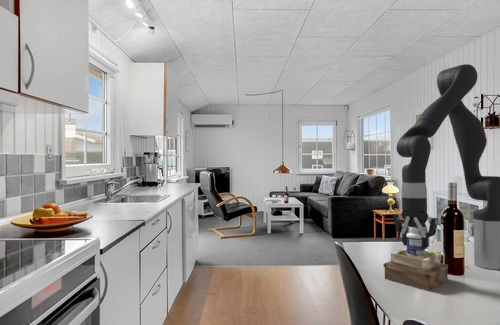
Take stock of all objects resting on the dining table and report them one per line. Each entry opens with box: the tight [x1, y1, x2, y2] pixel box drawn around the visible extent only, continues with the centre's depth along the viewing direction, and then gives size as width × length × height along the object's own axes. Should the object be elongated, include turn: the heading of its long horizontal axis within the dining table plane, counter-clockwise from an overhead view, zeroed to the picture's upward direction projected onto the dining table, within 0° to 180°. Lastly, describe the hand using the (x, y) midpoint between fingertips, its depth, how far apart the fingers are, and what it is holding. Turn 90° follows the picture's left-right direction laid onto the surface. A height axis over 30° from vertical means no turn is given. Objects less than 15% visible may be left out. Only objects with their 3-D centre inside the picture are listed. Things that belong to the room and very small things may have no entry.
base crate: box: [383, 260, 449, 292], centre depth 106 cm, size 14×14×5 cm
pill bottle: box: [406, 226, 426, 258], centre depth 106 cm, size 5×5×10 cm
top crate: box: [390, 247, 441, 272], centre depth 106 cm, size 11×11×4 cm
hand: (415, 246), depth 106 cm, fingers closed on pill bottle, 5 cm apart
